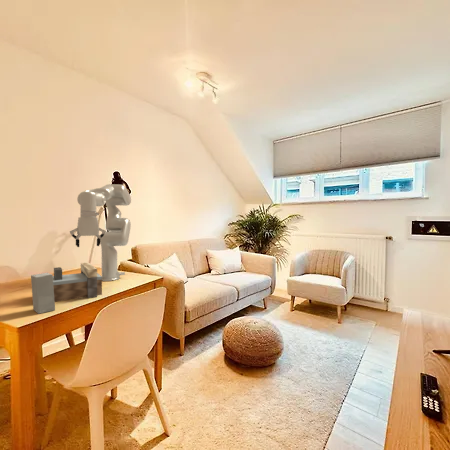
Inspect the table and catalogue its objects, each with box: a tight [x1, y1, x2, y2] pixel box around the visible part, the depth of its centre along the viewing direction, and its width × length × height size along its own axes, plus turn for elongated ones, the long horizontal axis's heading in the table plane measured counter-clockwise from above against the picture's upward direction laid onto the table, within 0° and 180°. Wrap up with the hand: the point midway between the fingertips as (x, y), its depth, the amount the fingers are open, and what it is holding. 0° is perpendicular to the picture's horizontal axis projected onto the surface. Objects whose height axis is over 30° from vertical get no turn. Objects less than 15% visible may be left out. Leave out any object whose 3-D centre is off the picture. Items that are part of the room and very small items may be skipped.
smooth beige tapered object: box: [80, 262, 98, 278], centre depth 141 cm, size 4×24×4 cm, turn 37°
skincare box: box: [30, 272, 56, 314], centre depth 113 cm, size 8×7×16 cm
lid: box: [53, 266, 102, 285], centre depth 136 cm, size 26×16×8 cm, turn 127°
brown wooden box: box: [53, 270, 103, 302], centre depth 136 cm, size 26×23×10 cm
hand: (88, 246), depth 140 cm, fingers open, 9 cm apart
